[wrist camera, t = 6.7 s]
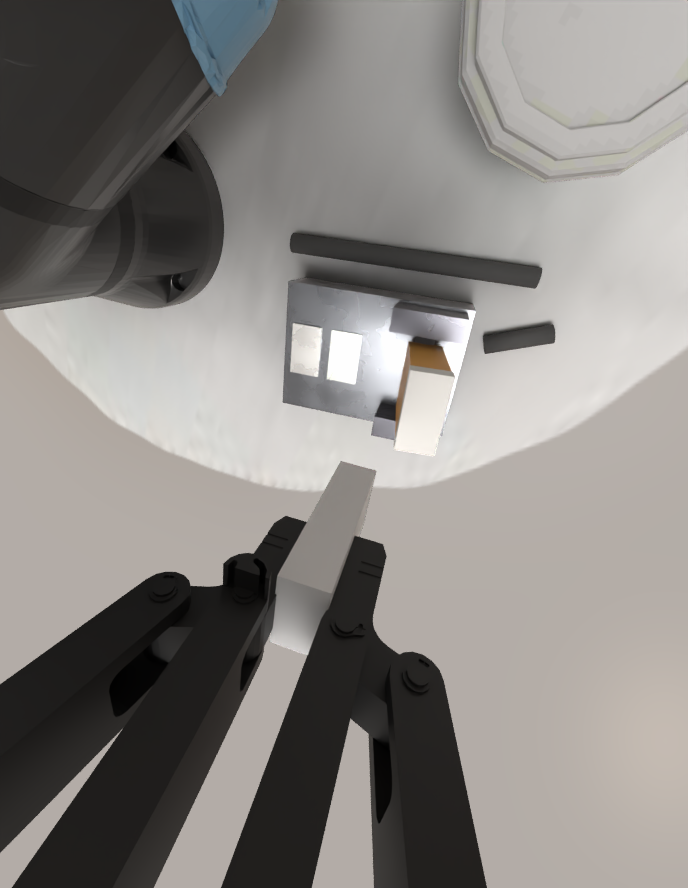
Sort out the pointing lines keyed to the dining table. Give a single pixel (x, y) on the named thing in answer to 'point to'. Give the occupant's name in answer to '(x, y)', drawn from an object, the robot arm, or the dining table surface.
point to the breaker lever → (422, 397)
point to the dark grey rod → (417, 260)
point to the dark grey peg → (519, 339)
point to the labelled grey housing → (362, 346)
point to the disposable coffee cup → (575, 81)
